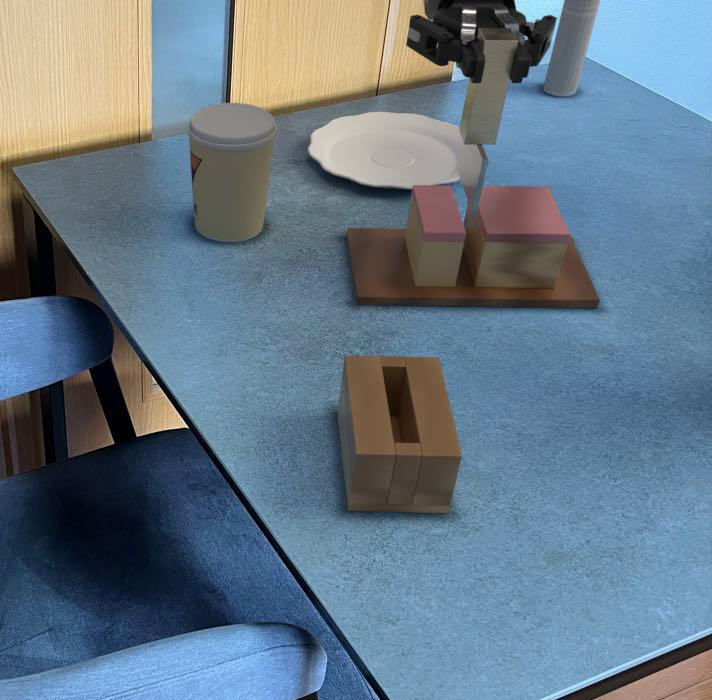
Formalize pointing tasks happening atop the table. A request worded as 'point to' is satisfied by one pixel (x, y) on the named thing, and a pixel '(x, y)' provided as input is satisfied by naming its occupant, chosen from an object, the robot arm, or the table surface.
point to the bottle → (570, 46)
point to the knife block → (397, 435)
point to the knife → (484, 109)
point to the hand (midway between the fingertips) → (499, 71)
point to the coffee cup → (230, 169)
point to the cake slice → (434, 236)
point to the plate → (388, 149)
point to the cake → (483, 258)
